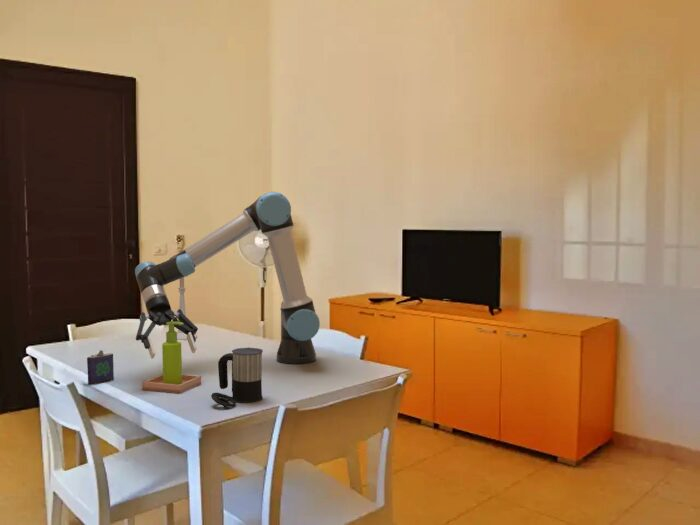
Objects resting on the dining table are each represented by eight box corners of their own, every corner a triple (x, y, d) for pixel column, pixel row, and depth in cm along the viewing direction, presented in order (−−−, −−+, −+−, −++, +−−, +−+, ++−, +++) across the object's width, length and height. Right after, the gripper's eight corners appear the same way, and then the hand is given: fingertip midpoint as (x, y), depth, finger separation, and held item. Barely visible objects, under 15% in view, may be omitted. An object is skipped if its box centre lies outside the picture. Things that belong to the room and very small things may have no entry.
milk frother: (264, 394, 200) (264, 347, 199) (258, 409, 184) (258, 358, 183) (218, 395, 199) (217, 347, 198) (208, 410, 183) (207, 358, 183)
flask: (111, 378, 219) (110, 347, 219) (116, 379, 218) (115, 348, 217) (86, 384, 212) (85, 351, 211) (91, 385, 210) (90, 352, 209)
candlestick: (167, 336, 299) (166, 271, 297) (196, 334, 303) (195, 270, 301) (168, 341, 287) (167, 273, 285) (198, 339, 290) (197, 273, 288)
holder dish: (201, 383, 212) (201, 376, 212) (179, 393, 200) (179, 385, 200) (165, 380, 217) (165, 373, 216) (142, 389, 205) (142, 382, 204)
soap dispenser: (179, 386, 205) (178, 323, 204) (159, 385, 207) (158, 323, 205) (188, 381, 211) (187, 320, 210) (168, 380, 212) (167, 320, 211)
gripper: (188, 305, 227) (207, 355, 216) (116, 311, 212) (132, 365, 201) (194, 292, 222) (214, 342, 211) (121, 297, 207) (138, 351, 196)
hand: (174, 353), depth 206 cm, fingers open, 13 cm apart
